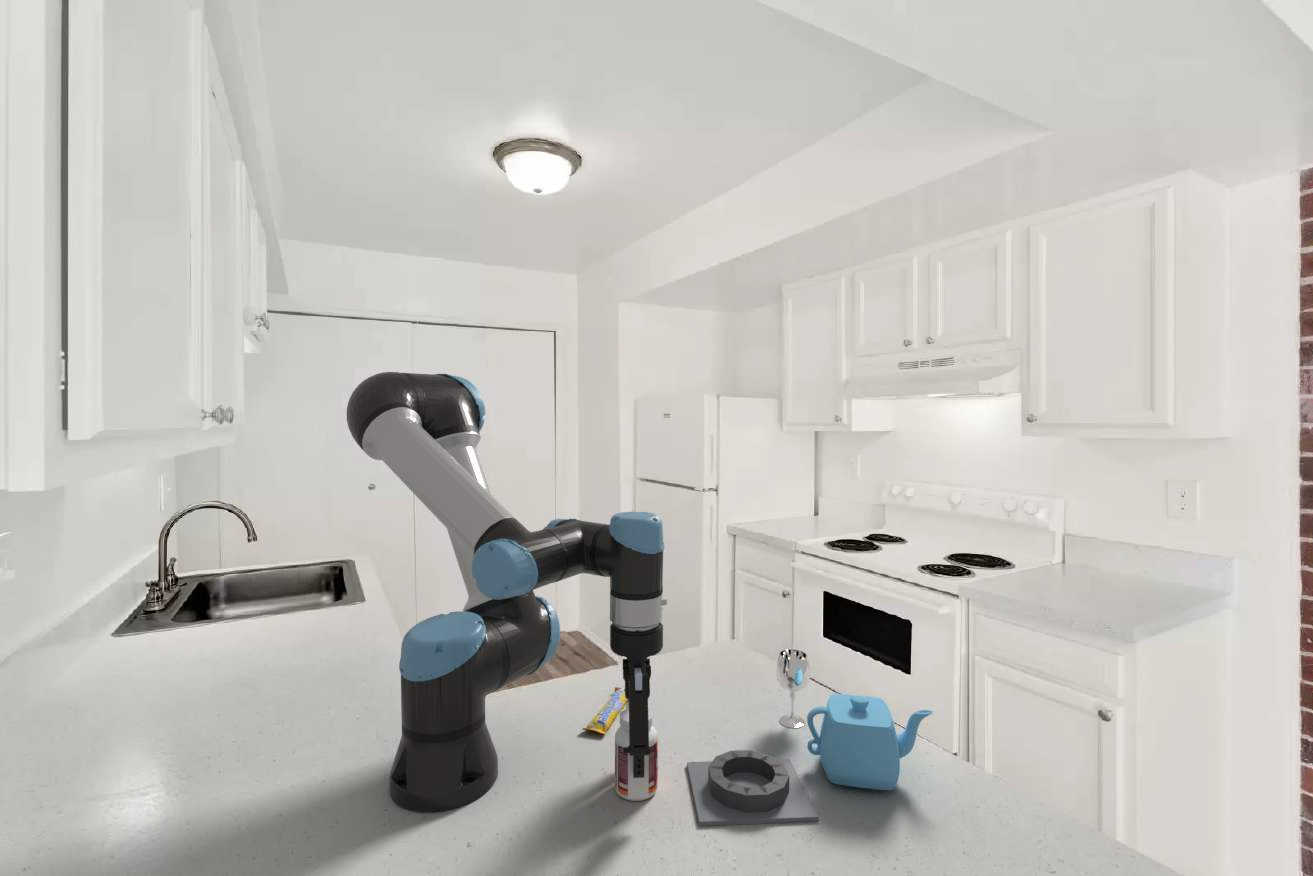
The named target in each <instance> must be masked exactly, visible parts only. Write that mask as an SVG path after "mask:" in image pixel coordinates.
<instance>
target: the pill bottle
mask: <svg viewBox="0 0 1313 876" xmlns="http://www.w3.org/2000/svg"><path fill="white" fill-rule="evenodd" d="M653 718H654V717H653V713H652V711H650V710H649V709H648V728H649V748H650V752H649V798H630V799H628V753H624V747H628V746H629V709H626V708H625V709H623V710H622V711H621V712H620V714H619V727H618V728H617V729H616V732H615V734H614V789H615V792H616V793H617V795H618V796H619V797H621V798H622V799H624V800H627V801H632V802H640V801H644V800H648V799H650V798H652V797H653V796H654V795H655V793H656V792H657V791H658V784H659V783H658V781H659V779H658V771H659V770H658V768H659V765H658V763H659V761H658V760H659V758H658V756H659V755H658V753H659V752H658V751H659V750H658V749H659V748H658V746H659V743H658V742H659V740H658V739H659V738H658V736H659V735H658V731H657V729H656V728H655V727H654V726H653V722H654V721H653Z"/></svg>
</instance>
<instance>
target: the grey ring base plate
mask: <svg viewBox="0 0 1313 876" xmlns="http://www.w3.org/2000/svg"><path fill="white" fill-rule="evenodd" d="M686 768H687V773H688V777H689V782H690V786H691V792H692V797H693V802H694V806H695V807H694V808H695V810H696V817H697V821H698V825H699V827H706V826H707V827H708V826H730V825H731V826H732V825H737V826H738V825H757V824H758V825H759V824H779V823H781V824H782V823H802V822H803V823H804V822H819V815H818V812H817V810H816V809H815V806H814V804H813V802H812V800H811V799H810V797H809V795H808V793H807V790H806V789H805V787H804V785H803V783H802V781H801V779H800V777H799V775H798V773H797V771H796V768H795V767H794V765H793V763H792V761H791V759H790V758H775V757H774V756H772V755H771V754H767V753H763V752H759V751H757V750H751V749H741V750H740V749H739V750H738V749H737V750H729V751H726V752H724V753H722V754H719V755H715V757H713V760H710V761H708V760H707V761H687V762H686Z"/></svg>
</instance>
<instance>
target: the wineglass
mask: <svg viewBox="0 0 1313 876" xmlns="http://www.w3.org/2000/svg"><path fill="white" fill-rule="evenodd" d="M776 662H777V663H776V667H775V674H776V681H777V683H778V684H779V686H780V688H782V689H783V690H785V691H788V692H790V693H789V699H790V714H785V715H782V716H780V717H779V723H780V724H781V725H782V726H784V727H786V728H790V729H800V728H802V727H804V726H805V725H806V720H805V718H804V719H803V717H800V716H799V715H795V713H794V712H795V708H794V705H795V700H796V692H797V693H798V692H801V691H804V690H805V689H806V688H807V687H808V685H809V684H810V677H811V670H810V664H809V659H808V655H807V654H806V652H804V651H802V650H799V649H789V648H788V649H783V650H780V652H779V654H778V658H777V661H776Z"/></svg>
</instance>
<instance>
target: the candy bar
mask: <svg viewBox="0 0 1313 876" xmlns="http://www.w3.org/2000/svg"><path fill="white" fill-rule="evenodd" d="M621 689H622V688H621V687H617V686H616V687H614V691H613V692H614V693H612V695H611V697H609V699H608V700H607V702H606V703H605V704H604V706H603V707H602V708H600V710H599V711H598V713H596V715H595V716H594V717H593V719H592V720H591V721H590V722H589V723H588V724H587V726H586V727H582V728H581V730H583V731H594V732H596V733H598V734H603V735H606V734H607V732H608V731H609V730H610V728H611V727H612V726H613V724H614V723H615V721H616V720H615V719H617V718H618V717H617V715H618V714H619V713H620V714H621V712H622V711H623V710H624V708H625V707H626V706H625V705H626V700H627V699H626V698H625V688H624V689H623V690H621ZM624 706H625V707H624ZM622 709H623V710H622ZM621 710H622V711H621ZM620 714H619V715H620ZM619 715H618V716H619ZM616 717H617V718H616ZM612 723H613V724H612Z"/></svg>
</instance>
